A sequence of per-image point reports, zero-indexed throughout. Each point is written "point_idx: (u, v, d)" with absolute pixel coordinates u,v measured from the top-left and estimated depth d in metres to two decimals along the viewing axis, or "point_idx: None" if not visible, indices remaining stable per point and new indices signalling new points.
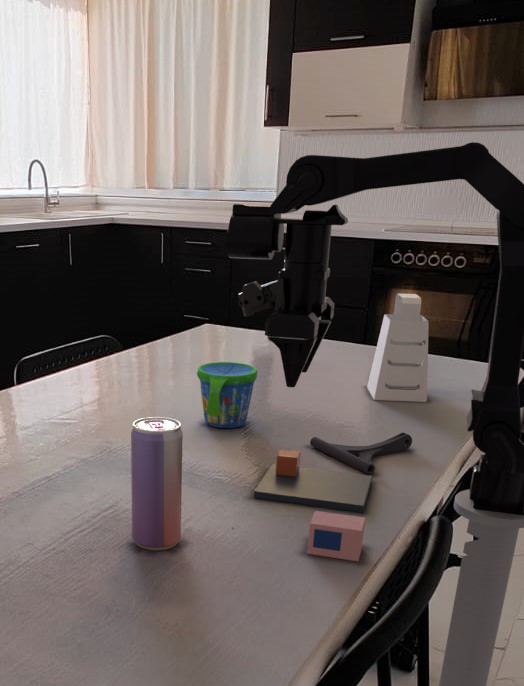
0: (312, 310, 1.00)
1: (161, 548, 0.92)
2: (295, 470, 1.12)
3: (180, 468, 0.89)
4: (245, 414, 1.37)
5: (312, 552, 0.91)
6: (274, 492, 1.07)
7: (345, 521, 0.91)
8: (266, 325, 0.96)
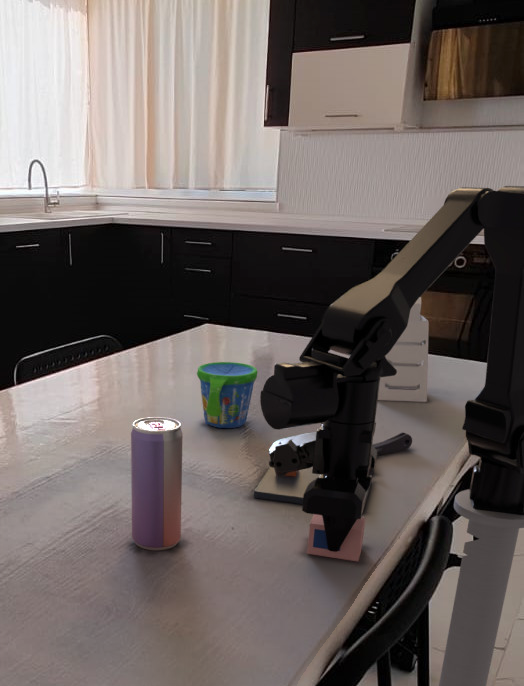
0: (356, 475, 0.86)
1: (161, 548, 0.92)
2: None
3: (180, 468, 0.89)
4: (245, 414, 1.37)
5: (312, 552, 0.91)
6: (274, 492, 1.07)
7: None
8: (304, 500, 0.82)
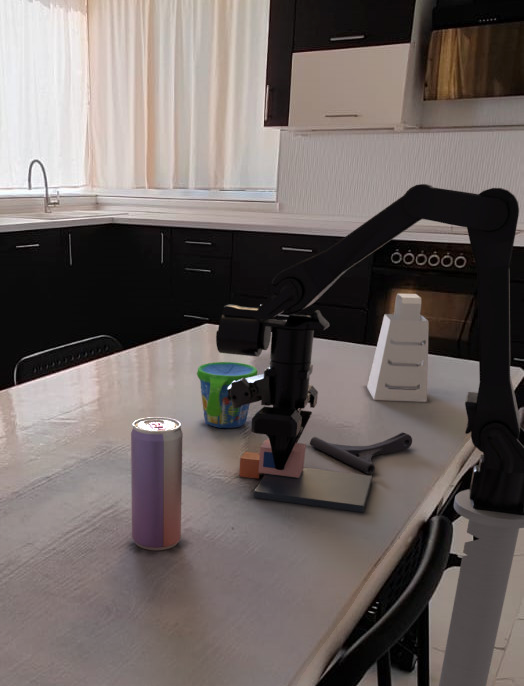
0: (296, 405, 1.07)
1: (161, 548, 0.92)
2: (258, 472, 1.14)
3: (180, 468, 0.89)
4: (245, 414, 1.37)
5: (262, 471, 1.13)
6: (274, 492, 1.07)
7: None
8: (252, 423, 1.04)
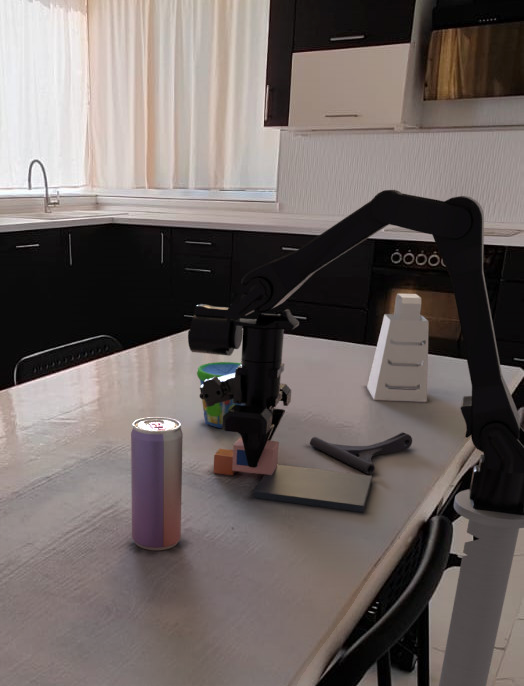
0: (267, 403, 1.09)
1: (161, 548, 0.92)
2: None
3: (180, 468, 0.89)
4: None
5: (236, 469, 1.14)
6: (274, 492, 1.07)
7: None
8: (223, 421, 1.05)
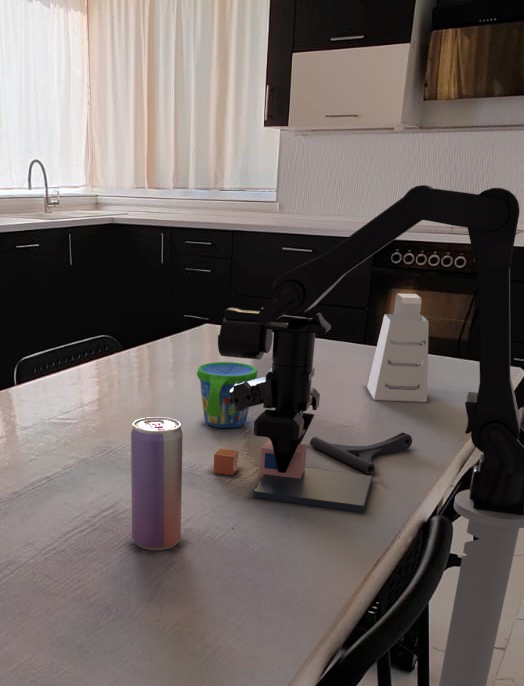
0: (298, 408, 1.07)
1: (161, 548, 0.92)
2: (232, 469, 1.15)
3: (180, 468, 0.89)
4: (245, 414, 1.37)
5: (263, 472, 1.13)
6: (274, 492, 1.07)
7: None
8: (255, 426, 1.04)
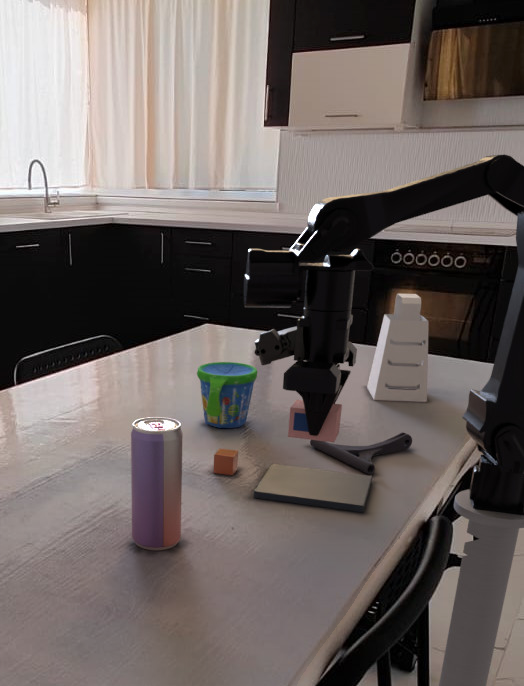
0: (333, 360, 0.94)
1: (161, 548, 0.92)
2: (232, 469, 1.15)
3: (180, 468, 0.89)
4: (245, 414, 1.37)
5: (292, 435, 1.00)
6: (274, 492, 1.07)
7: None
8: (284, 378, 0.90)
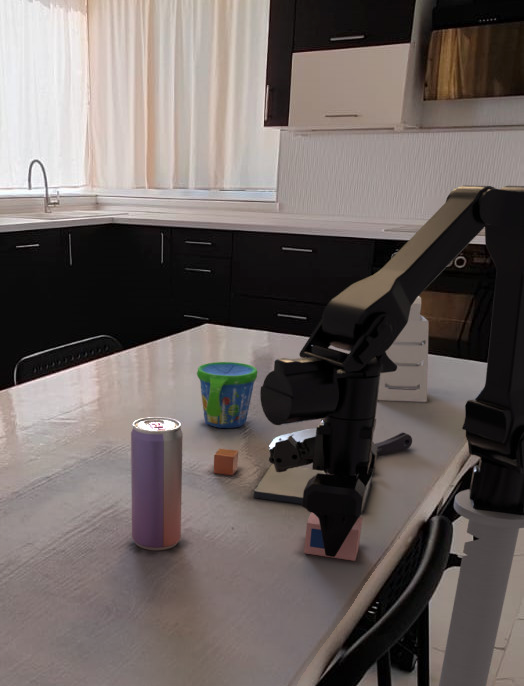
0: (356, 471, 0.85)
1: (161, 548, 0.92)
2: (232, 469, 1.15)
3: (180, 468, 0.89)
4: (245, 414, 1.37)
5: (309, 551, 0.91)
6: (274, 492, 1.07)
7: None
8: (304, 496, 0.81)
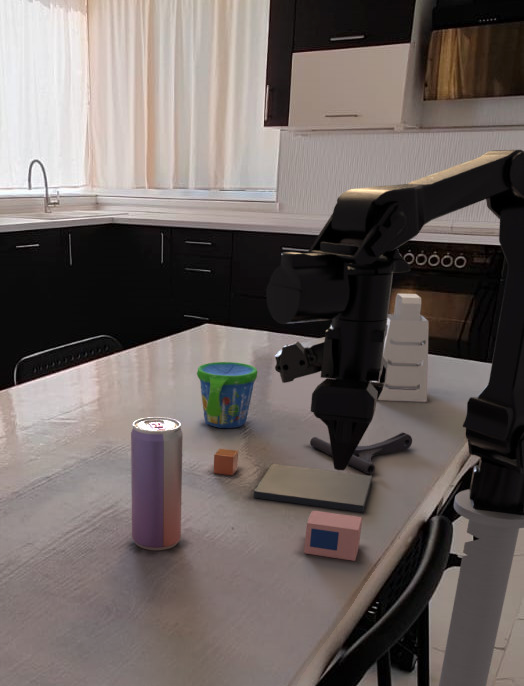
0: (367, 378, 0.81)
1: (161, 548, 0.92)
2: (232, 469, 1.15)
3: (180, 468, 0.89)
4: (245, 414, 1.37)
5: (309, 551, 0.91)
6: (274, 492, 1.07)
7: (342, 520, 0.91)
8: (313, 400, 0.77)
